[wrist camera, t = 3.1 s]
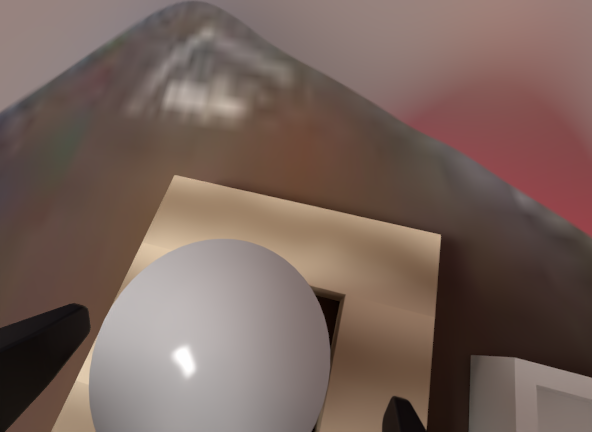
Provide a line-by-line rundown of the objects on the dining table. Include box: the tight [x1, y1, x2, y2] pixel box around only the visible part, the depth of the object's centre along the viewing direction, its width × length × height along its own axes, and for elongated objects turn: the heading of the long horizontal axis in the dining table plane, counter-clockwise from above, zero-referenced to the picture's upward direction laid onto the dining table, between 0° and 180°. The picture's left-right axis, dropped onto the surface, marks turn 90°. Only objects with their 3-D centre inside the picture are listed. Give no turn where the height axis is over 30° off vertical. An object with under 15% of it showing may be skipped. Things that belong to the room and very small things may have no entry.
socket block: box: [51, 175, 441, 432], centre depth 15 cm, size 15×15×2 cm
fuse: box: [89, 239, 330, 432], centre depth 11 cm, size 5×5×10 cm
